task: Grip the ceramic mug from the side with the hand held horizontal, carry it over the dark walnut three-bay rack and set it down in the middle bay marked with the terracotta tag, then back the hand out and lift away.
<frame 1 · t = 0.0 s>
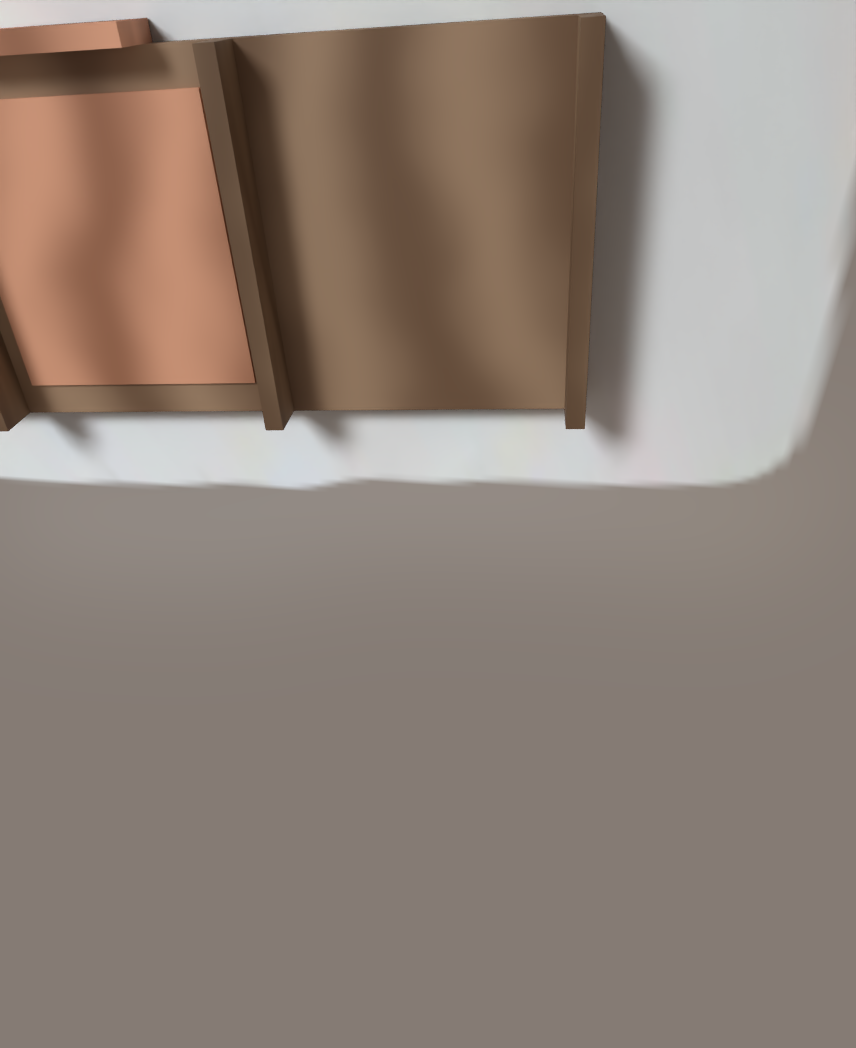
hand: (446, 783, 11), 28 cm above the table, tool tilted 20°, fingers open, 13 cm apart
rack: (119, 245, 36), on the table
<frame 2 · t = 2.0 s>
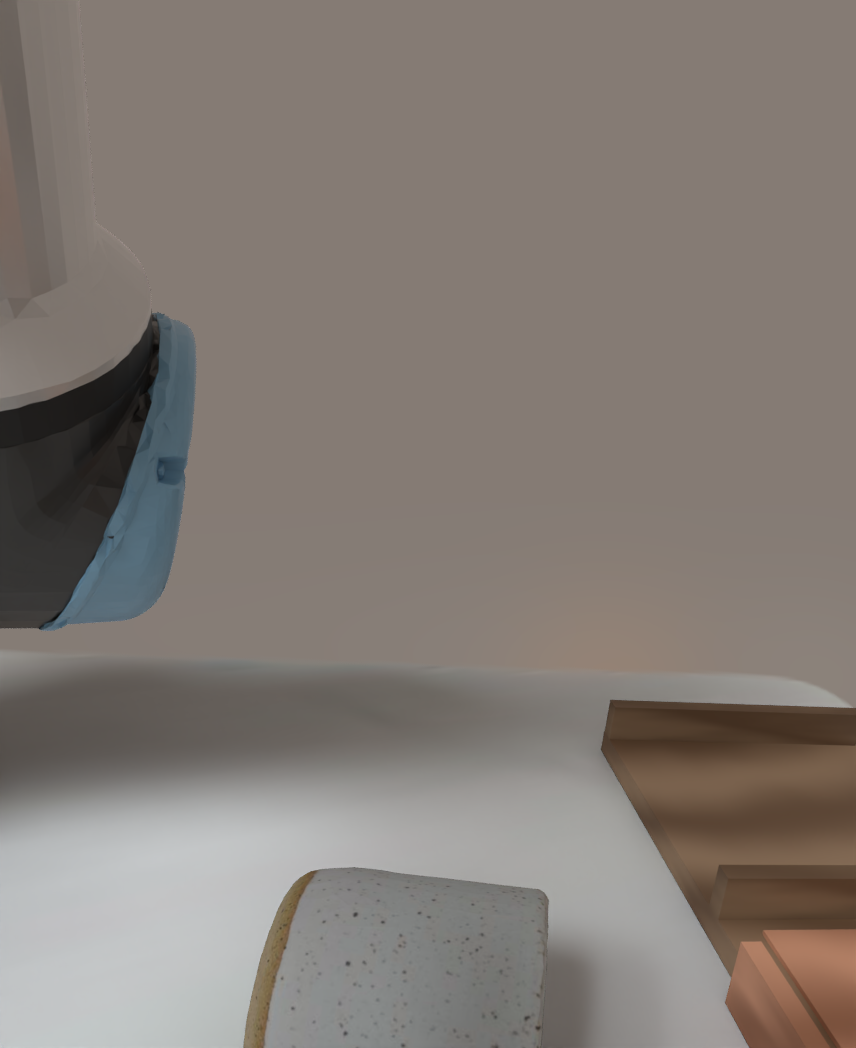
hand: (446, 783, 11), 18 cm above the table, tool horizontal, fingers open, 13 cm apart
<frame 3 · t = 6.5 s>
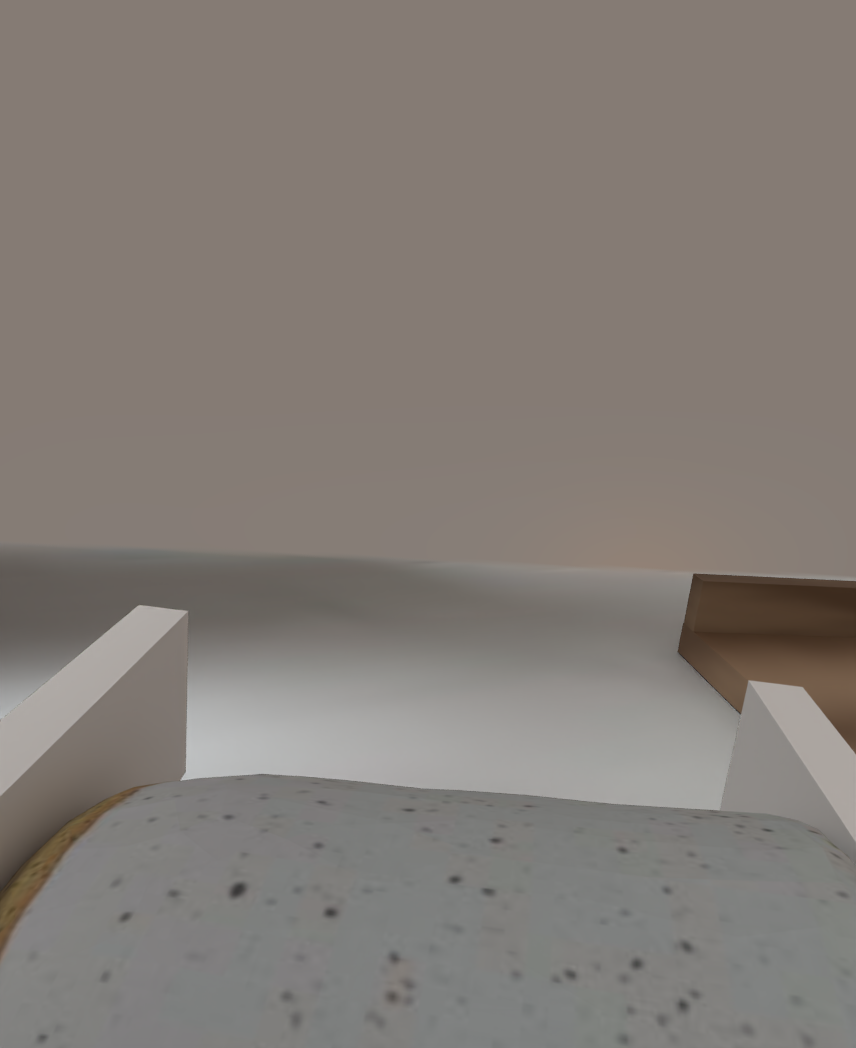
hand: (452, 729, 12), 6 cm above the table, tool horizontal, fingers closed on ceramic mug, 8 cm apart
when the fingers open (9 cm above the table, at t = 11.7 s): ceramic mug stays where it is, resting on rack.
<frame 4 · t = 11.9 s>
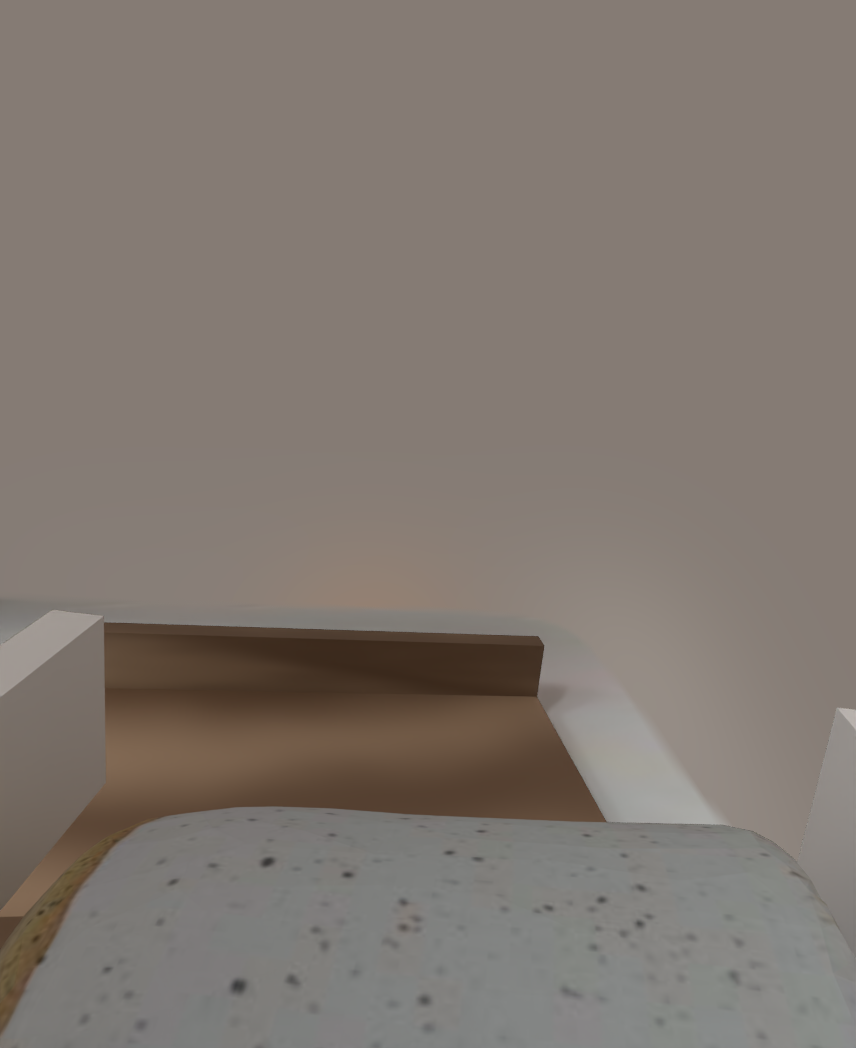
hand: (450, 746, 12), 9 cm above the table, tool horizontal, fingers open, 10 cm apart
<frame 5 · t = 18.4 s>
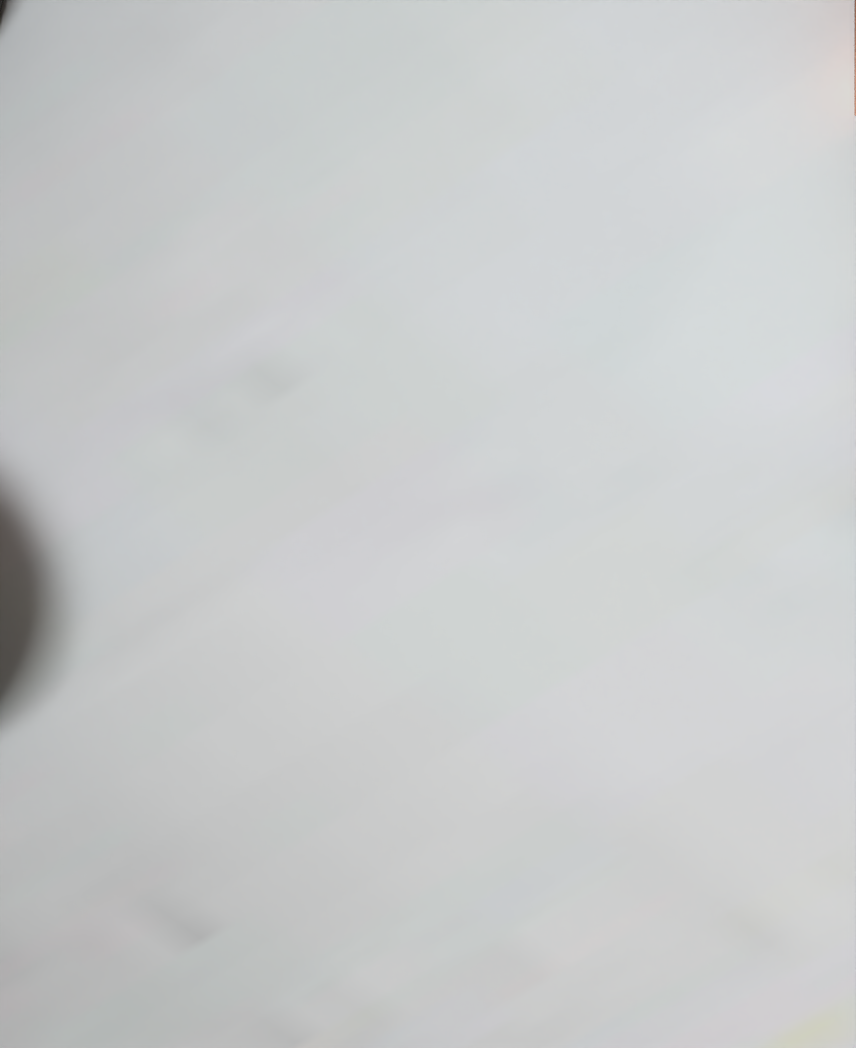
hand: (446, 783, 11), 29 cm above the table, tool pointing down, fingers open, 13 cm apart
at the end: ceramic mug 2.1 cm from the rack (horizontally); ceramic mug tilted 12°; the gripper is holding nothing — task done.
